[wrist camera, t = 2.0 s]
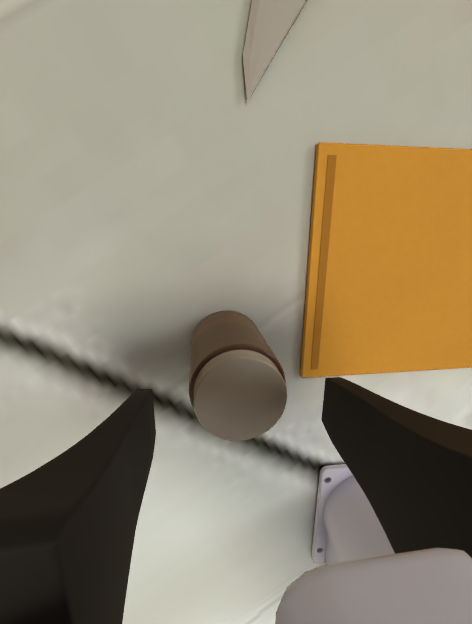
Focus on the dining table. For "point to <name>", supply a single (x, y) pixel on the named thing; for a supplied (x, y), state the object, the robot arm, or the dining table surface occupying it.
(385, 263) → the orange cutting board
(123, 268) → the dining table surface
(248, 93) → the chef's knife
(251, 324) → the pepper shaker
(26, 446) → the dining table surface
